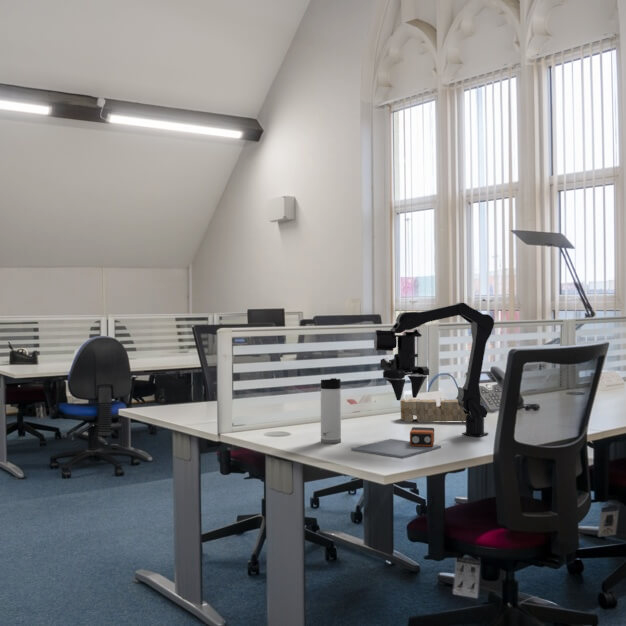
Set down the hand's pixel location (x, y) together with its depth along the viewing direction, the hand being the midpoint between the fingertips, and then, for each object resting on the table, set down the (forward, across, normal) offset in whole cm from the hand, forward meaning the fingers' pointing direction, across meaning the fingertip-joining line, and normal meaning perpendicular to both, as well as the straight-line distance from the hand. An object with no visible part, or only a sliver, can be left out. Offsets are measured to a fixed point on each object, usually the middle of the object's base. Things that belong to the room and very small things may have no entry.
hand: (406, 398), depth 237 cm
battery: (+9, +8, +11) cm, 16 cm away
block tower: (+12, -36, -9) cm, 39 cm away
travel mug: (+12, +24, -12) cm, 29 cm away
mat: (+12, +20, +10) cm, 26 cm away
